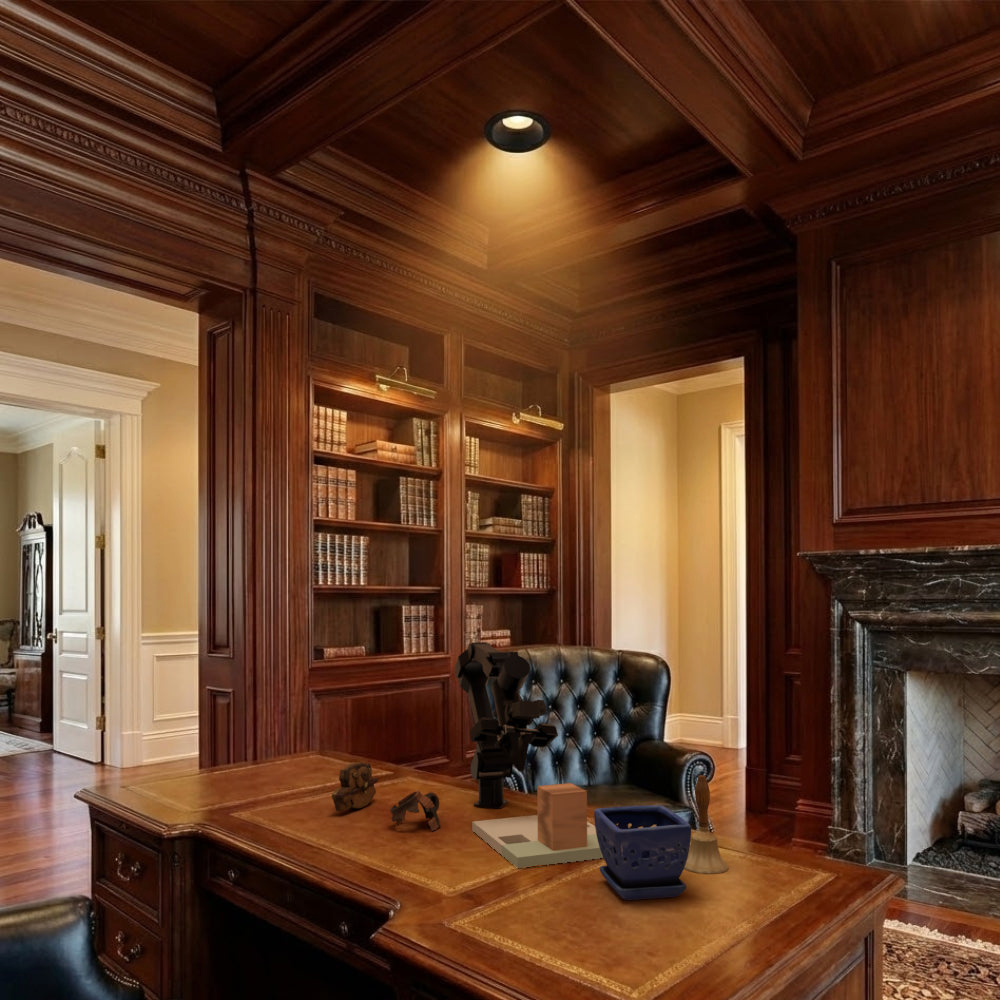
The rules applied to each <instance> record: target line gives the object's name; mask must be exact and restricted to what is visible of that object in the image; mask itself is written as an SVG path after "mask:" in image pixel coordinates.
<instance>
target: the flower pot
mask: <svg viewBox="0 0 1000 1000" xmlns="http://www.w3.org/2000/svg"><path fill="white" fill-rule="evenodd" d="M593 812H594V813H593V816H594V826H595V829H596V835H597V839H598V843H599V847H600V850H601V853H602V855H603V860H604V862H605V864H606V865H602V866H600V867H599V871H600V873H601V875H602V877H603V878H604V879H605V880H606V881H607V883H608V884H609V885H610V886H611V888H613V890H614V891H615V892H616V893H617V894H618V895H619V896H620V897H621V898H622V899H623V900H626V901H632V900H633V901H634V900H635V901H636V900H647V899H661V898H663V899H664V898H675V897H678V896H680V895H682V893H684V891H686V889H687V884H686V883H685V882H684V881H682V879H681V878H680V877H681V876H682V875H683V871H684V870H685V869H684V867H685V865H686V861H687V858H688V854H689V849H690V845H691V836H692V826H691V825H690V823H688V822H687V821H686V820H685V819H684V818H682V817H681V816H680V815H678V814H677V813H676V812H674V811H673V810H671V809H669V808H668V807H666V806H664V805H660V804H659V805H658V804H656V805H655V804H654V805H650V804H649V805H630V806H629V805H628V806H614V807H613V806H612V807H600V808H595V809H594V811H593ZM629 825H630V826H629ZM654 825H655V826H654Z"/></svg>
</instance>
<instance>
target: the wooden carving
mask: <svg viewBox="0 0 1000 1000" xmlns="http://www.w3.org/2000/svg"><path fill="white" fill-rule="evenodd" d="M372 769H373V768H372V766H371V764H370V763H369V762H368V763H365V762H360V761H359V762H349V763H348V764H346V765H345V766H344V767H343V768H342V769H340V770H339V775H338V779H339V782H340V787H337V788H335V789H334V790H333V792H332V794H331V799H332V800H333V803H334V808H335V811H336V812H346V811H348V810H353V809H362V808H364V807H366V806H367V805H368V804H369V803H371V801H372V800H373V799H374V797H375V795H376V793H377V789H376V787H375V784H377V783H378V782H379V777H374V776H373V774H372V773H373V772H372V771H373V770H372Z"/></svg>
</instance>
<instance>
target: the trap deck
mask: <svg viewBox="0 0 1000 1000" xmlns="http://www.w3.org/2000/svg"><path fill="white" fill-rule="evenodd" d="M471 826H472V827H471V828H472V831H473V832H475V833H476V834H477V835H478V836H480V837H481V838H482V839H483V840H484V841H485V842H486V844H487V843H488V844H489V845H490V846H491V847H492V848H491V849H493V850H494V849H495V850H496V851H497V852H498V853H497V852H496V851H495V850H494V851H495V852H496V853H497V854H499V853H500V854H501V855H502V845H505V844H514V843H523V842H531V841H538V814H533V815H524V816H523V815H522V816H513V817H504V818H494V819H493V818H492V819H486V820H475V821H472V825H471ZM473 832H472V833H473ZM475 833H474V834H475ZM476 834H475V835H476ZM593 834H596V829H595V824H592V823H590V822H589V821H587V835H593ZM477 835H476V836H477ZM478 836H477V837H478ZM481 838H480V839H481ZM482 839H481V840H482ZM483 840H482V841H483ZM484 841H483V842H484ZM485 842H484V843H485ZM488 844H487V845H488ZM489 845H488V846H489ZM490 846H489V847H490ZM500 854H499V855H500ZM501 855H500V856H501Z"/></svg>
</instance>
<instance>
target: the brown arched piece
mask: <svg viewBox="0 0 1000 1000" xmlns="http://www.w3.org/2000/svg"><path fill="white" fill-rule="evenodd" d="M419 804H420V806H421V807H422V810H423V812H424V815H425V819H426V820H429V819H430V820H429V821H428V822H427V824H428V826H429V828H430V831H433V830H435V831H436V830H437V829H438V828H439V827H440V826H441V822H440V819H439V815H438V813H437V812H438V811H439V807H440V798H439V796H438V795H437V794H436V793H435V792H427V794H424V795H422V793H421V791H420V790H416V791H413V792H411V793H410V794H408V795H406V796H405V797H403V798H402V799H401V800H399V801H398V802H397V805H398V806H397V805H396V804H394V805H393V806H391V808H390V810H389V811H390V813H391V815H392V817H391V822H396V824H397V825H398V824H400V823H403V821H406V812H408V813H413V814H417V813H420V809H419ZM400 825H401V824H400ZM433 832H434V831H433Z"/></svg>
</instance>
